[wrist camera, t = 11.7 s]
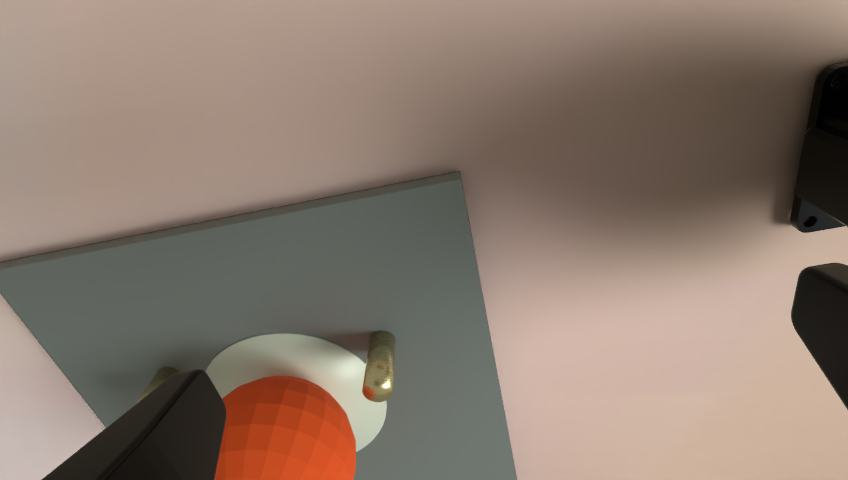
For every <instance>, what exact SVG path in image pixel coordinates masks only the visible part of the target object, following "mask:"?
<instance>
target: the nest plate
mask: <svg viewBox="0 0 848 480" xmlns="http://www.w3.org/2000/svg"><path fill="white" fill-rule="evenodd" d="M0 293H1V295H2V296H3V297H4V298H5V300H6V301H7V302H8V303H9V305H10V306H11V307H12V309H13V310H14V311H15V312H16V314H17V315H18V316H19V317H20V319H21V320H22V321H23V323H24V324H25V325H26V326H27V328H28V329H29V330H30V331H31V333H32V334H33V335H34V337H35V338H36V339H37V340H38V342H39V343H40V344H41V345H42V347H43V348H44V349H45V350H46V352H47V353H48V354H49V356H50V357H51V358H52V359H53V361H54V362H55V363H56V364H57V366H58V367H59V368H60V370H61V371H62V372H63V373H64V375H65V376H66V377H67V378H68V380H69V381H70V382H71V384H72V385H73V386H74V387H75V389H76V390H77V391H78V392H79V394H80V395H81V396H82V398H83V399H84V400H85V401H86V403H87V404H88V405H89V406H90V408H91V409H92V410H93V411H94V413H95V414H96V415H97V417H98V418H99V419H100V420H101V422H102V423H103V424H104V425H105V427H106V428H107V427H108V426H109V425H111V424H112V423H113V422H114V421H116V420H117V419H118V418H119V417H121V416H122V415H123V414H124V413H126V412H127V411H128V410H129V409H131V408H132V407H133V406H134V405H135V404H136V403H137V401H138V400H139V398H140V397H141V395H142V394H143V392H144V391H145V389H146V388H147V386H148V384H149V383H150V381H151V380H152V378H153V377H154V375H155V374H156V372H157V371H158V369H160V368H162V367H171V368H174V369H176V370H178V371H179V372H181V371H187V370H193V369H202V370H203V371H205V372H206V373H207V374H208V376H209V378H210V379H211V381H212V383H213V384H214V386H215V388H216V389H217V391H218V393H219V395H220V396H221V398H223V397H225V396H226V395H227V394H229V393H230V392H231V391H233V390H234V389H236V388H237V387H238V386H241V385H244V384H246V383H249V382H252V381H255V380H258V379H261V378H264V377H271V376H278V375H279V376H293V377H297V378H301V379H305V380H308V381H310V382H312V383H315V384H317V385H319V386H320V387H322V388H323V389H324V390H326V391H327V392H328V393H330V394H331V395H332V396H333V398H334V399H335V400H336V401H337V402H338V403H339V404H340V406H341V407H342V408H343V410H344V411H345V412H346V414H347V417H348V420H349V422H350V425H351V428H352V431H353V434H354V437H355V439H356V472H355V476H354V479H353V480H517V476H516V471H515V466H514V460H513V455H512V450H511V444H510V439H509V434H508V428H507V423H506V417H505V412H504V407H503V401H502V396H501V391H500V385H499V380H498V375H497V369H496V364H495V358H494V353H493V348H492V342H491V337H490V332H489V326H488V321H487V316H486V310H485V305H484V299H483V294H482V289H481V283H480V278H479V273H478V267H477V262H476V257H475V251H474V246H473V240H472V235H471V230H470V224H469V219H468V214H467V208H466V203H465V198H464V192H463V187H462V181H461V176H460V171H458V172H453V173H448V174H443V175H438V176H433V177H428V178H423V179H418V180H413V181H408V182H403V183H398V184H393V185H388V186H383V187H378V188H373V189H368V190H363V191H358V192H353V193H348V194H343V195H337V196H332V197H327V198H322V199H317V200H312V201H307V202H302V203H297V204H292V205H287V206H282V207H277V208H272V209H267V210H262V211H257V212H252V213H247V214H242V215H237V216H232V217H227V218H222V219H217V220H212V221H206V222H201V223H196V224H191V225H186V226H181V227H176V228H171V229H166V230H161V231H156V232H151V233H146V234H141V235H136V236H131V237H126V238H121V239H116V240H111V241H106V242H101V243H96V244H91V245H86V246H81V247H75V248H70V249H65V250H60V251H55V252H50V253H45V254H40V255H35V256H30V257H25V258H20V259H15V260H10V261H5V262H0ZM377 331H388V332H390V333H392V334H393V335H394V336H395V338H396V348H395V363H394V377H393V391H392V396H391V397H390V398H389V399H388V400H386V401H383V402H373V401H370V400H368V399H366V398H365V397H364V395H363V393H362V389H363V382H364V375H365V368H366V361H367V353H368V346H369V339H370V336H371V335H372V334H373V333H374V332H377Z"/></svg>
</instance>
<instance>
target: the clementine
mask: <svg viewBox="0 0 848 480" xmlns="http://www.w3.org/2000/svg"><path fill="white" fill-rule="evenodd" d="M222 400H223V401H224V404H225V407H226V422H225V427H224V433H223V438H222V443H221V448H220V453H219V458H218V464H217V469H216V474H215V479H214V480H353V479H354V476H355V472H356V439H355V437H354V434H353V431H352V428H351V425H350V422H349V420H348V417H347V414H346V412H345V411H344V410H343V408H342V407H341V406H340V404H339V403H338V402H337V401H336V400H335V399H334V398H333V396H332V395H331V394H330V393H328V392H327V391H326V390H324V389H323V388H322V387H320V386H319V385H317V384H315V383H312V382H310V381H308V380H305V379H301V378H297V377H293V376H279V375H278V376H271V377H264V378H261V379H258V380H255V381H252V382H249V383H246V384H244V385H241V386H238V387H237V388H236V389H234V390H233V391H231V392H230V393H229V394H227V395H226V396H225V397H223V398H222Z"/></svg>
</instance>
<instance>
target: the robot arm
mask: <svg viewBox="0 0 848 480" xmlns="http://www.w3.org/2000/svg"><path fill="white" fill-rule="evenodd" d="M837 75H838V80H837V82H836V83H835V84H834V85H832V86H831V82H832V80H833V79H834V78H835V77H836V76H837ZM808 217H810V218H809V219H808V220H807V221H806V222H804V221H805V219H807V218H808ZM791 224H792V226H793V227H795V228H796V229H798V230H799V231H801V232H803V233H804V232H814V231H820V230H825V229H831V228H837V227H843V226H847V227H848V62H844V63H839V64H834V65H831V66H829V67H827V68H825V69H824V70H823V71H821V73H820V74H819V75H818V77H817V79H816V82H815V87H814V92H813V98H812V103H811V109H810V114H809V120H808V125H807V131H806V134H805V137H804V142H803V148H802V153H801V159H800V164H799V170H798V176H797V181H796V187H795V197H794V203H793V208H792V214H791ZM791 318H792V323H793V326H794V328H795V330H796V332H797V333H798V335H799V336H800V338H801V339H802V341H803V342H804V344H805V345H806V347H807V349H808V350H809V352H810V353H811V355H812V356H813V358H814V359H815V361H816V362H817V364H818V365H819V367H820V368H821V370H822V371H823V373H824V374H825V376H826V377H827V379H828V380H829V382H830V384H831V385H832V387H833V388H834V390H835V391H836V393H837V394H838V396H839V397H840V399H841V400H842V402H843V403H844V405H845V406H846V408H847V409H848V265H844V264H840V263H829V264H823V265H817V266H811V267H807V268H805V269H803V270H802V271H801V273H800V274H799V277H798V281H797V286H796V291H795V296H794V301H793V306H792V311H791ZM225 422H226V407H225V404H224V401H223V400H222V398H221V396H220V395H219V393H218V391H217V389H216V388H215V386H214V384H213V383H212V381H211V379H210V378H209V376H208V374H207V373H206V372H205V371H203V370H202V369H193V370H187V371H181V372H177V373H175V374H173V375H172V376H170V377H169V378H168V379H167V380H165V381H164V382H163V383H162V384H160V385H159V386H158V387H157V388H155V389H154V390H153V391H152V392H150V393H149V394H148V395H147V396H145V397H144V398H143V399H142V400H141V401H139V402H138V403H137V404H136V405H134V406H133V407H132V408H131V409H129V410H128V411H127V412H126V413H124V414H123V415H122V416H121V417H119V418H118V419H117V420H116V421H114V422H113V423H112V424H111V425H109V426H108V427H107V428H106V429H104V430H103V431H102V432H101V433H99V434H98V435H97V436H96V437H94V438H93V439H92V440H91V441H89V442H88V443H87V444H86V445H84V446H83V447H82V448H81V449H79V450H78V451H77V452H76V453H74V454H73V455H72V456H71V457H69V458H68V459H67V460H66V461H64V462H63V463H62V464H61V465H59V466H58V467H57V468H56V469H54V470H53V471H52V472H51V473H49V474H48V475H47V476H46V477H44V478H43V479H42V480H214V479H215V474H216V469H217V464H218V458H219V453H220V448H221V443H222V438H223V433H224V427H225Z"/></svg>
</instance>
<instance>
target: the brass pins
mask: <svg viewBox="0 0 848 480" xmlns="http://www.w3.org/2000/svg"><path fill="white" fill-rule="evenodd" d="M395 348H396V338H395V336H394V335H393V334H392V333H390V332H388V331H377V332H374V333H373V334H372V335H371V336H370V339H369V346H368V353H367V361H366V368H365V375H364V382H363V389H362V393H363V395H364V397H365V398H366V399H368V400H370V401H373V402H383V401H386V400H388V399H389V398H390V397H391V396H392V391H393V377H394V363H395ZM177 372H179V371H178V370H176V369H174V368H171V367H162V368H160V369H158V371H157V372H156V374H155V375H154V377H153V378H152V380H151V381H150V383H149V384H148V386H147V388H146V389H145V391H144V392H143V394H142V395H141V397H140V398H139V400H138V401H137V403H138V402H139V401H141V400H142V399H143V398H144V397H145V396H147V395H148V394H149V393H150V392H152V391H153V390H154V389H155V388H157V387H158V386H159V385H160V384H162V383H163V382H164V381H165V380H167V379H168V378H169V377H170V376H172V375H173V374H175V373H177ZM137 403H136V404H137ZM136 404H135V405H136Z"/></svg>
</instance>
